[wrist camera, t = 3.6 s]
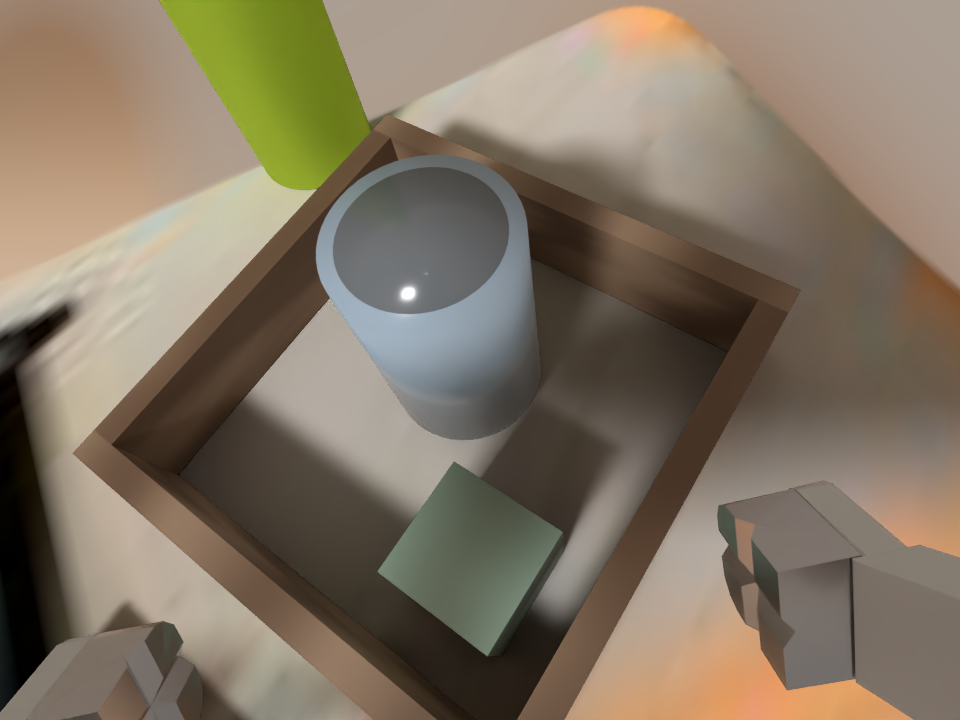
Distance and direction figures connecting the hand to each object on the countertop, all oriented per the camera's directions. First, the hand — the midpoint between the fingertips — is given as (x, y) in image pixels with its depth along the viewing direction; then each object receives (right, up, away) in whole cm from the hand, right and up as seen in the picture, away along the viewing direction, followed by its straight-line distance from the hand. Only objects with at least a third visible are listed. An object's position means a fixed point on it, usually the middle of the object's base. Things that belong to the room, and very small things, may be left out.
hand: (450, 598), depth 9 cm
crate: (-1, +1, +15) cm, 15 cm away
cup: (0, +3, +16) cm, 16 cm away
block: (+1, -4, +13) cm, 13 cm away
